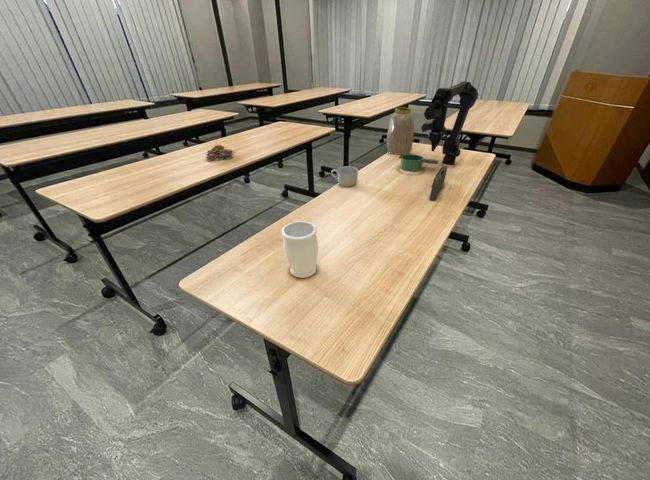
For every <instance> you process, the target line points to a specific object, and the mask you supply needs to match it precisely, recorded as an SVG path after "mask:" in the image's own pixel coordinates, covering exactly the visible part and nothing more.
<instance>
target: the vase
mask: <svg viewBox="0 0 650 480" xmlns="http://www.w3.org/2000/svg"><path fill="white" fill-rule="evenodd" d="M414 138H415V117H414V115H413V113H412V108H411V107H396V108H395V109H394V113H393V114H392V115H391V117H390V118H389V122H388V127H387V134H386V143H385V144H386V151H387V153H388V155H393V156H403V155H409V154H410V153H411V151H412V149H413V144H414ZM389 152H390V153H389Z"/></svg>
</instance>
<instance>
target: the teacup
mask: <svg viewBox="0 0 650 480" xmlns="http://www.w3.org/2000/svg"><path fill="white" fill-rule="evenodd" d="M334 172H335V173H336V175H335V174H334ZM330 174H331V175H330V176H332V177H333V178H334V179H335V180H336V181H337V183H338V184H339V183H340V184H339V185H341V186H342V187H344V188H350V187H353V186H354V185H356V183H358V179H359V178H358V176H359V169H358V168H357V167H355V166H351V165H350V166H349V165H345V166H340V167H338V168H337V169H336V168H333V169H332V170H331V172H330Z"/></svg>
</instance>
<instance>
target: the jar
mask: <svg viewBox="0 0 650 480" xmlns="http://www.w3.org/2000/svg"><path fill="white" fill-rule="evenodd" d="M280 232H281V236H282V237H283V239H282V246H283V253H284V255H285V258H286V261H287V263H288V266H289V267H290V269H289V270H290V271H289V272H290V273H291V275H292V276H294V277H296V278H299V279H300V278H301V279H302V278H304V279H305V278H308V277H311V276H313V275H314V274H315V273H316V271H317V265H316V264H317V262H318V261H317V260H318V252H319V243H318V237H317V232H318V231H317V226H316V225H315V224H314V223H313V222H310V221H306V220H300V221H299V220H297V221H292V222H290V223H287V224H285V225H284V226H283V227H282V228H281V231H280Z"/></svg>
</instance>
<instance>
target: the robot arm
mask: <svg viewBox="0 0 650 480" xmlns="http://www.w3.org/2000/svg"><path fill="white" fill-rule="evenodd" d="M455 96H458V97H459V100H458V103H459V110H458V113H457V116H456V118H455V120H454V124H453V127H452V129H451V133H450V134H449V136H448V137H446V138H445V139H444V142H443V144H442V149H441V150H442V152H441V153H442V155H444V156H442V157H443V158H442V165H445V166H454V165H455V164H456V160H457V159H456V158H458V157H459V156H460V155H461V149H460V144H461V143H460V136H461V134H462V131H463V127H464V124H465V123H466V119H467V117H468V113H469V111H470V110H471V109H472V108H473V107H474V106H475V103H476V102H477V100H478V99H479V93H478V90H477V88H476V87H474V86H473V85H472V83H471V82H470V81H464V80H463V81H460V82H459V83H457V84H454V85H452V86H450V87H439V88H438V89H437V90H436V91H435V93H434V95H433V98H432V99H431V101H430V103H429V104H428V106H427V107H426V108H425V110H424V112H423V115H424V118H425V119H426V120H427V121H429V122H425V123H422V124H421V126H420V130H421V132H422V133H425V132H427V131H429V133H428V134H427V139H428V141H430V145H431V152H435V150H436V148H438V145H439V144H440V142H441V140H442V138H443V137H444V135H445V133H446V130H447V127H446V125H445V123H446V121H447V113H448V112H447V111H448V107H450V106H451V104H450V102H451V101H452V100H453V99H454V97H455ZM430 120H431V121H430Z"/></svg>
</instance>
